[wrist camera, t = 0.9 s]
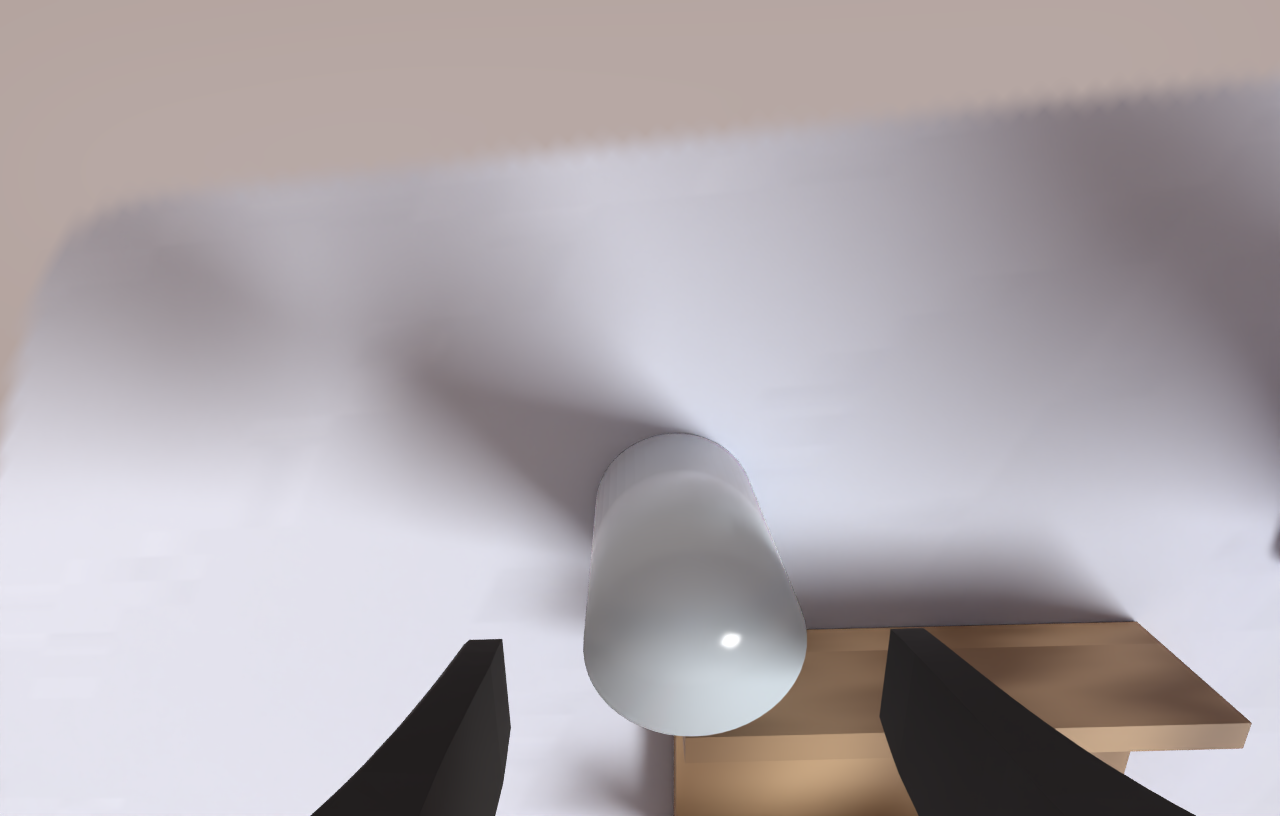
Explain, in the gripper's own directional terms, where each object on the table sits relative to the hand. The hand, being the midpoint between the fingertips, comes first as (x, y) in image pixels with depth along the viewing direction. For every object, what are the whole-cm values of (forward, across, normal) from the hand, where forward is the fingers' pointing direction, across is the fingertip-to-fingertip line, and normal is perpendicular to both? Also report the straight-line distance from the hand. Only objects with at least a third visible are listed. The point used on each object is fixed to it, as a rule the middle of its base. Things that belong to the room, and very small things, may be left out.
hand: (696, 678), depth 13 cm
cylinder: (+7, 0, 0) cm, 7 cm away
